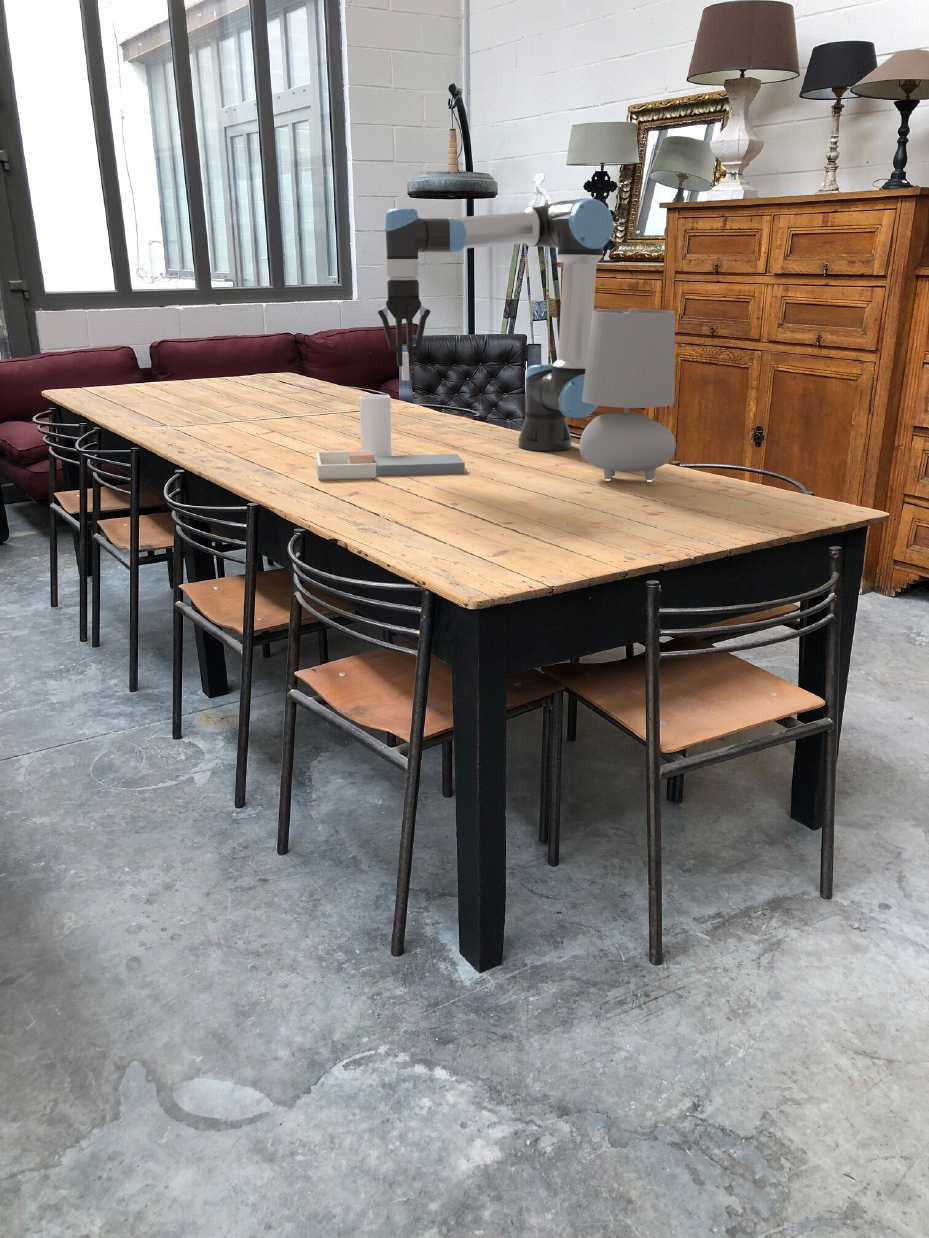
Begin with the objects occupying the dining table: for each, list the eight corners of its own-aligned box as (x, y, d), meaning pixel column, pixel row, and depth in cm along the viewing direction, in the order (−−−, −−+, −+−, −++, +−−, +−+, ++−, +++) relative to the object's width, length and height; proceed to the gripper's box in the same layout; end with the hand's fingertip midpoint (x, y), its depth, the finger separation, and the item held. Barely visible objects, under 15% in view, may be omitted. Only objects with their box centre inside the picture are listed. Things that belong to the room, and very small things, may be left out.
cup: (386, 459, 258) (385, 399, 252) (357, 458, 259) (355, 398, 254) (394, 454, 265) (393, 395, 260) (366, 452, 267) (364, 394, 261)
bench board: (456, 463, 254) (456, 454, 253) (464, 472, 243) (464, 463, 242) (373, 465, 250) (372, 456, 249) (377, 475, 239) (377, 465, 238)
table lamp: (678, 475, 241) (692, 307, 227) (666, 494, 222) (680, 312, 208) (587, 469, 248) (596, 305, 234) (568, 486, 229) (576, 309, 215)
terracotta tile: (371, 458, 246) (371, 450, 246) (373, 463, 241) (373, 455, 240) (348, 459, 245) (348, 451, 245) (349, 463, 240) (349, 455, 239)
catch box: (370, 463, 253) (369, 450, 251) (376, 478, 236) (375, 464, 235) (316, 465, 250) (315, 451, 249) (318, 480, 234) (317, 465, 233)
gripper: (427, 278, 235) (429, 377, 243) (374, 278, 233) (377, 378, 241) (432, 279, 228) (433, 381, 236) (377, 279, 226) (380, 382, 234)
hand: (405, 379), depth 239 cm, fingers closed
